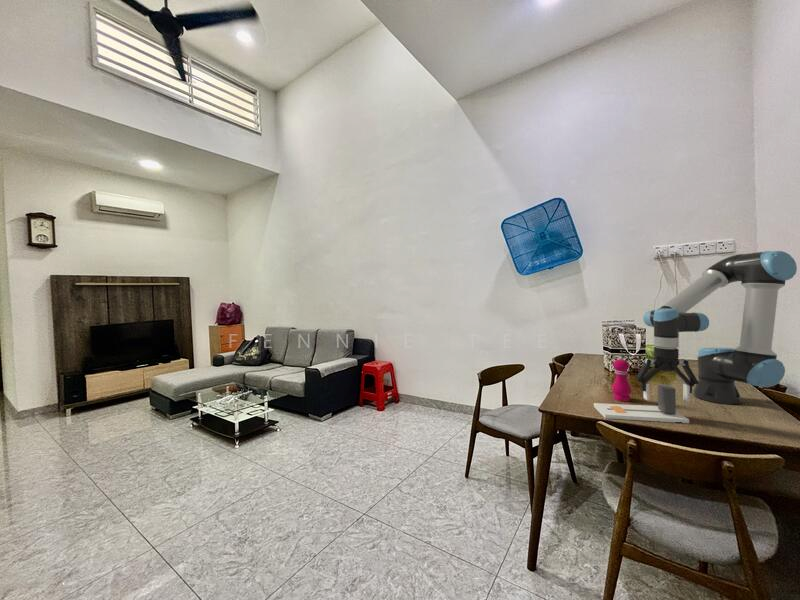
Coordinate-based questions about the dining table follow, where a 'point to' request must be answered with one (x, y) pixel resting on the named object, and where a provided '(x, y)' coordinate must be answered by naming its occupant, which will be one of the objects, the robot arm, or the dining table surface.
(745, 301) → the robot arm
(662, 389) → the fader knob
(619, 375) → the pepper mill
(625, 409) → the plate
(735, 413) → the dining table surface
